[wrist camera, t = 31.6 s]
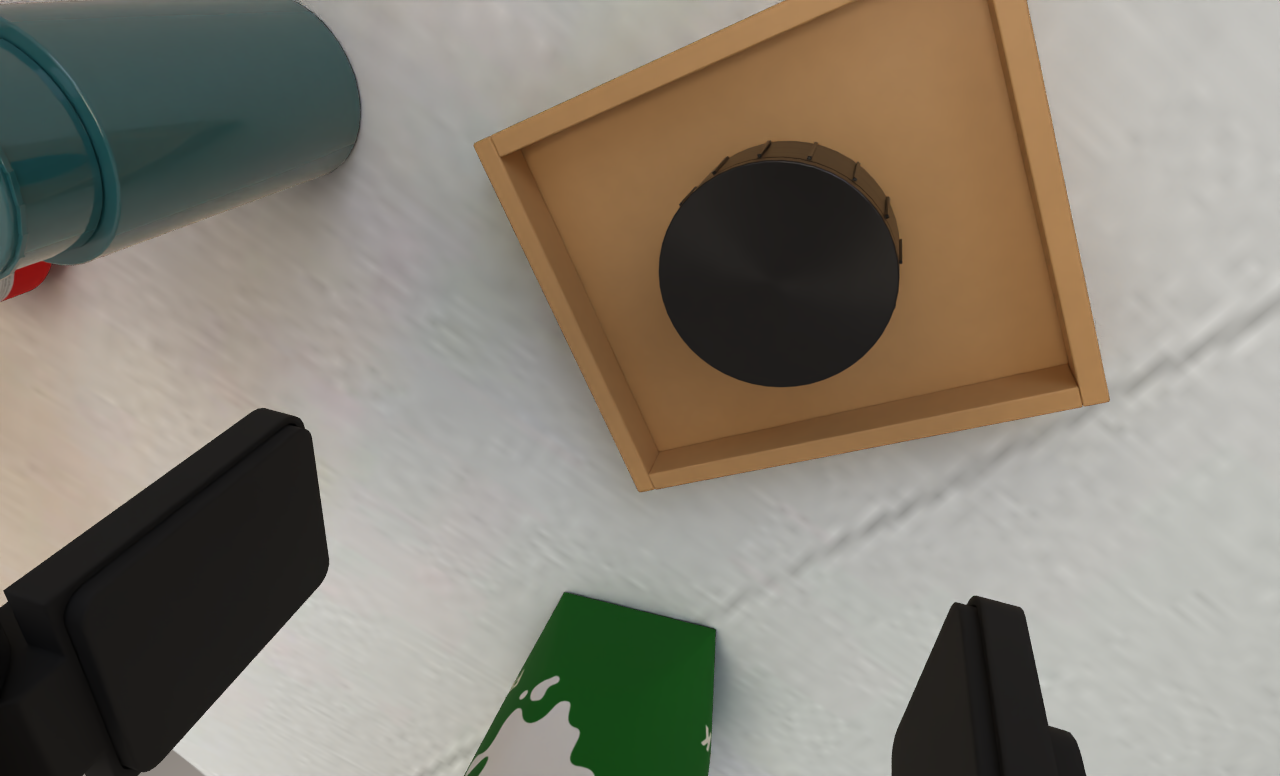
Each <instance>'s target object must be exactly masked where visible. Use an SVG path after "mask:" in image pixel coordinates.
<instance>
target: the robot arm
mask: <svg viewBox="0 0 1280 776" xmlns="http://www.w3.org/2000/svg"><path fill="white" fill-rule="evenodd" d="M328 567H329V556H328V549H327V541H326V534H325V527H324V520H323V513H322V506H321V499H320V492H319V484H318V477H317V470H316V463H315V456H314V449H313V442H312V436H311V433H310V432H309V431H308V430H306V429H305V427H304V424H303V422H302V421H301V419H300V418H298V417H296V416H292V415H288V414H285V413H281V412H277V411H273V410H269V409H266V408H260V409H257V410H255V411H253V412H251V413H250V414H248V415H247V416H245V417H244V418H243V419H241V420H240V421H239V422H237V423H236V424H234V425H233V426H232V427H230V428H229V429H227V430H226V431H225V432H223V433H222V434H220V435H219V436H218V437H216V438H215V439H214V440H212V441H211V442H209V443H208V444H207V445H205V446H204V447H202V448H201V449H200V450H198V451H197V452H195V453H194V454H193V455H191V456H190V457H188V458H187V459H186V460H184V461H183V462H182V463H180V464H179V465H177V466H176V467H175V468H173V469H172V470H170V471H169V472H168V473H166V474H165V475H163V476H162V477H161V478H159V479H158V480H157V481H155V482H154V483H152V484H151V485H150V486H148V487H147V488H145V489H144V490H143V491H141V492H140V493H138V494H137V495H136V496H134V497H133V498H131V499H130V500H129V501H127V502H126V503H125V504H123V505H122V506H120V507H119V508H118V509H116V510H115V511H113V512H112V513H111V514H109V515H108V516H106V517H105V518H104V519H102V520H101V521H99V522H98V523H97V524H95V525H94V526H93V527H91V528H90V529H88V530H87V531H86V532H84V533H83V534H81V535H80V536H79V537H77V538H76V539H74V540H73V541H72V542H70V543H69V544H68V545H66V546H65V547H63V548H62V549H61V550H59V551H58V552H56V553H55V554H54V555H52V556H51V557H49V558H48V559H47V560H45V561H44V562H42V563H41V564H40V565H38V566H37V567H36V568H34V569H33V570H31V571H30V572H29V573H27V574H26V575H24V576H23V577H22V578H20V579H19V580H17V581H16V582H15V583H13V584H12V585H11V586H9V587H8V588H6V589H5V590H4V593H5V596H6V598H7V600H8V602H7V603H6V604H4V605H3V606H2V607H0V776H83V775H84V774H85V775H86V776H138V775H139V774H140V773H141V772H147V771H150V770H151V769H153V768H154V767H156V766H157V765H158V764H159V763H160V762H161V761H162V760H163V759H164V758H165V757H166V756H167V754H168V753H169V752H170V751H171V750H172V749H173V748H174V747H175V746H176V745H177V743H178V742H179V741H180V740H181V739H182V738H183V737H184V736H185V735H186V733H187V732H188V731H189V730H190V729H191V728H192V727H193V726H194V725H195V723H196V722H197V721H198V720H199V719H200V718H201V717H202V716H203V715H204V713H205V712H206V711H207V710H208V709H209V708H210V707H211V706H212V705H213V703H214V702H215V701H216V700H217V699H218V698H219V697H220V696H221V695H222V693H223V692H224V691H225V690H226V689H227V688H228V687H229V686H230V685H231V683H232V682H233V681H234V680H235V679H236V678H237V677H238V676H239V675H240V673H241V672H242V671H243V670H244V669H245V668H246V667H247V666H248V665H249V663H250V662H251V661H252V660H253V659H254V658H255V657H256V656H257V655H258V653H259V652H260V651H261V650H262V649H263V648H264V647H265V646H266V645H267V643H268V642H269V641H270V640H271V639H272V638H273V637H274V636H275V635H276V633H277V632H278V631H279V630H280V629H281V628H282V627H283V626H284V625H285V623H286V622H287V621H288V620H289V619H290V618H291V617H292V616H293V614H294V613H295V612H296V611H297V610H298V609H299V608H300V607H301V606H302V604H303V603H304V602H305V601H306V600H307V599H308V598H309V597H310V596H311V594H312V593H313V592H314V591H315V590H316V589H317V588H318V587H319V586H320V584H321V583H322V582H323V580H324V578H325V576H326V574H327V571H328ZM892 776H1086V773H1085V769H1084V765H1083V761H1082V757H1081V753H1080V750H1079V747H1078V744H1077V742H1076V740H1075V738H1074V737H1073V736H1072V734H1071V733H1070V732H1067V731H1064V730H1061V729H1058V728H1054V727H1051V726H1048V722H1047V717H1046V712H1045V708H1044V703H1043V698H1042V693H1041V688H1040V684H1039V679H1038V674H1037V669H1036V665H1035V660H1034V655H1033V650H1032V646H1031V641H1030V636H1029V631H1028V627H1027V622H1026V617H1025V614H1024V611H1023V610H1022V609H1021V608H1020V607H1017V606H1013V605H1010V604H1006V603H1002V602H998V601H994V600H991V599H987V598H983V597H979V596H973V597H972V598H971V599H970V600H969V602H968V603H967V605H965V604H961V603H957V602H955V603H954V604H953V605H952V606H951V608H950V610H949V613H948V615H947V617H946V619H945V622H944V624H943V626H942V628H941V631H940V633H939V635H938V638H937V640H936V642H935V644H934V647H933V649H932V651H931V654H930V656H929V658H928V660H927V663H926V665H925V667H924V670H923V672H922V674H921V676H920V679H919V681H918V683H917V685H916V688H915V690H914V692H913V695H912V697H911V699H910V701H909V704H908V706H907V708H906V711H905V713H904V715H903V717H902V720H901V722H900V724H899V727H898V729H897V732H896V734H895V738H894V743H893V749H892Z"/></svg>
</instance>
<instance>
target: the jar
mask: <svg viewBox="0 0 1280 776" xmlns="http://www.w3.org/2000/svg"><path fill="white" fill-rule="evenodd" d="M359 124H360V100H359V92H358V88H357V84H356V79H355V76H354V74H353V71H352V68H351V65H350V63H349V61H348V59H347V57H346V54H345V53H344V51H343V49H342V47H341V46H340V44H339V42H338V41H337V40H336V38H335V37H334V35H333V34H332V33H331V31H330V30H329V29H328V28H327V27H326V26H325V25H324V23H323V22H322V21H321V20H320V19H318V18H317V17H316V16H315V15H314V14H313V13H312V12H310V11H309V10H308V9H306V8H305V7H304V6H302V5H300V4H299V3H297V2H295V1H293V0H75V1H53V2H31V3H9V4H0V281H1V280H3V279H5V278H6V277H8V276H10V275H12V274H14V273H15V271H16V270H17V269H20V268H23V267H26V266H29V265H32V264H35V263H37V262H40V261H44V262H47V263H52V264H57V265H79V264H85V263H87V262H90V261H93V260H95V259H98V258H101V257H104V256H106V255H109V254H112V253H114V252H117V251H120V250H123V249H125V248H128V247H131V246H133V245H136V244H139V243H142V242H144V241H147V240H150V239H152V238H155V237H158V236H161V235H163V234H166V233H169V232H171V231H174V230H177V229H180V228H182V227H185V226H188V225H190V224H193V223H196V222H199V221H201V220H204V219H207V218H209V217H212V216H215V215H217V214H220V213H223V212H226V211H228V210H231V209H234V208H236V207H239V206H242V205H245V204H247V203H250V202H253V201H255V200H258V199H261V198H264V197H266V196H269V195H272V194H274V193H277V192H280V191H283V190H285V189H288V188H291V187H293V186H296V185H299V184H302V183H304V182H307V181H310V180H312V179H315V178H318V177H321V176H323V175H326V174H328V173H330V172H332V171H333V170H335V169H336V168H338V167H339V166H340V165H341V164H342V163H343V162H344V161H345V159H346V158H347V157H348V155H349V154H350V152H351V150H352V148H353V146H354V144H355V141H356V138H357V135H358V130H359Z"/></svg>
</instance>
